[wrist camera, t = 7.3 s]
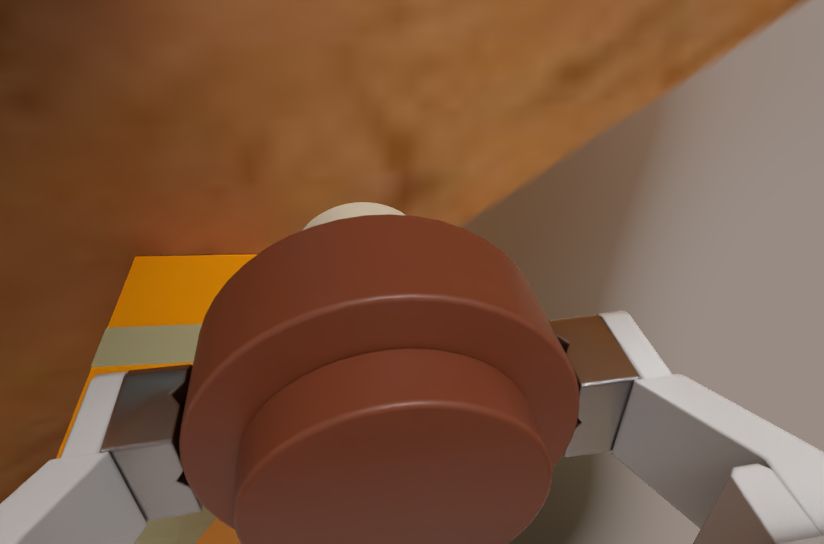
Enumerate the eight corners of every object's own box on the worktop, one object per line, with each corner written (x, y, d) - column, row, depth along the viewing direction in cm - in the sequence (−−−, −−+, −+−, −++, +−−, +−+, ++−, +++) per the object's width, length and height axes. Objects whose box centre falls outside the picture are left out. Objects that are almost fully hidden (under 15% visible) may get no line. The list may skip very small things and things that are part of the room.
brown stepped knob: (184, 145, 10) (93, 395, 6) (503, 119, 11) (656, 323, 6) (246, 373, 14) (221, 644, 9) (484, 343, 15) (574, 580, 10)
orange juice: (275, 252, 33) (254, 623, 18) (282, 361, 39) (270, 723, 23) (131, 255, 32) (-33, 659, 16) (158, 367, 37) (54, 756, 21)
